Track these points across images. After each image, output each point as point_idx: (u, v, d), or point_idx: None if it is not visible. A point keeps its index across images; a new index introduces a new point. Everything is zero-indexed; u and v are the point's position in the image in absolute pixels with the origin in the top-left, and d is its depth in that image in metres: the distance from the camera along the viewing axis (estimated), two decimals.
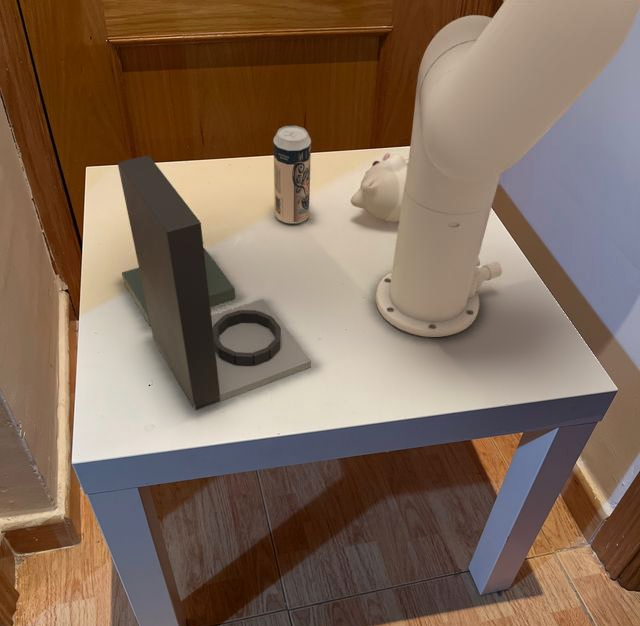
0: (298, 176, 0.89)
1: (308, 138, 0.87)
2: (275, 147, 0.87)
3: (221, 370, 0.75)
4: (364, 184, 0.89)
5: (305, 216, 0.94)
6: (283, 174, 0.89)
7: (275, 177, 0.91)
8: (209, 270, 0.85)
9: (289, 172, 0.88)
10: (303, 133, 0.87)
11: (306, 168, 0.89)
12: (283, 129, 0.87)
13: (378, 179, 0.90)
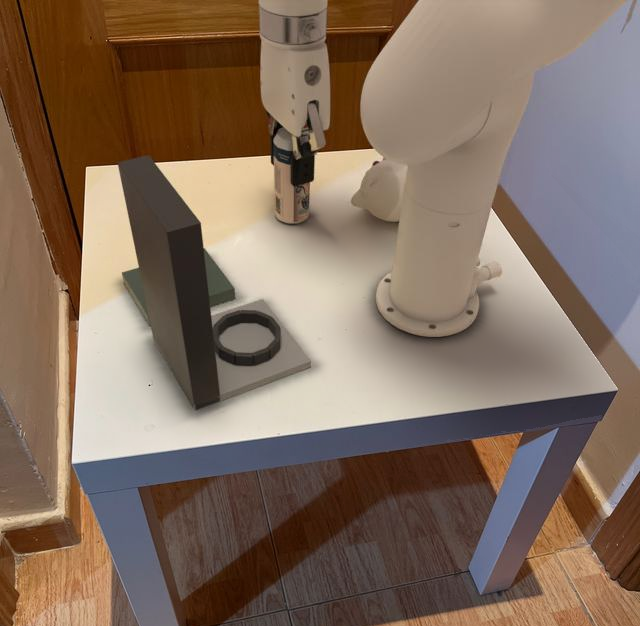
0: None
1: None
2: (275, 147, 0.87)
3: (221, 370, 0.75)
4: (364, 184, 0.89)
5: (305, 216, 0.94)
6: (283, 175, 0.89)
7: (275, 177, 0.91)
8: (209, 270, 0.85)
9: (289, 172, 0.88)
10: None
11: None
12: (283, 129, 0.87)
13: (378, 179, 0.90)
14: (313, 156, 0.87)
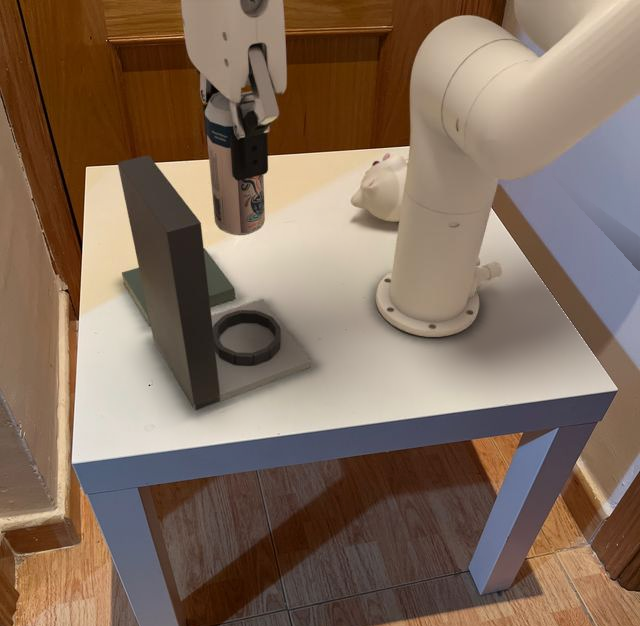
0: None
1: None
2: (207, 122, 0.58)
3: (221, 370, 0.75)
4: (364, 184, 0.89)
5: (258, 224, 0.65)
6: (221, 163, 0.60)
7: (210, 167, 0.61)
8: (209, 270, 0.85)
9: (230, 160, 0.59)
10: None
11: None
12: (220, 95, 0.58)
13: (378, 179, 0.90)
14: (265, 135, 0.58)
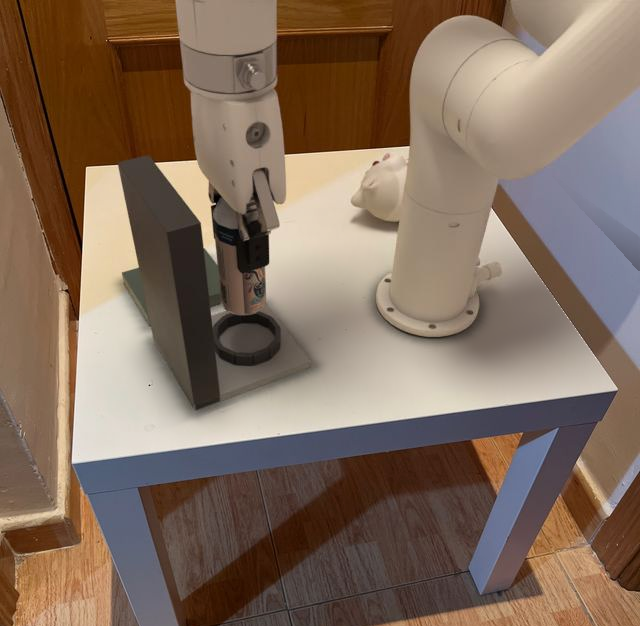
0: None
1: None
2: (215, 223, 0.65)
3: (221, 370, 0.75)
4: (364, 184, 0.89)
5: (260, 306, 0.72)
6: (227, 257, 0.67)
7: (217, 258, 0.68)
8: (209, 270, 0.85)
9: (235, 255, 0.66)
10: None
11: None
12: None
13: (378, 179, 0.90)
14: (267, 235, 0.65)
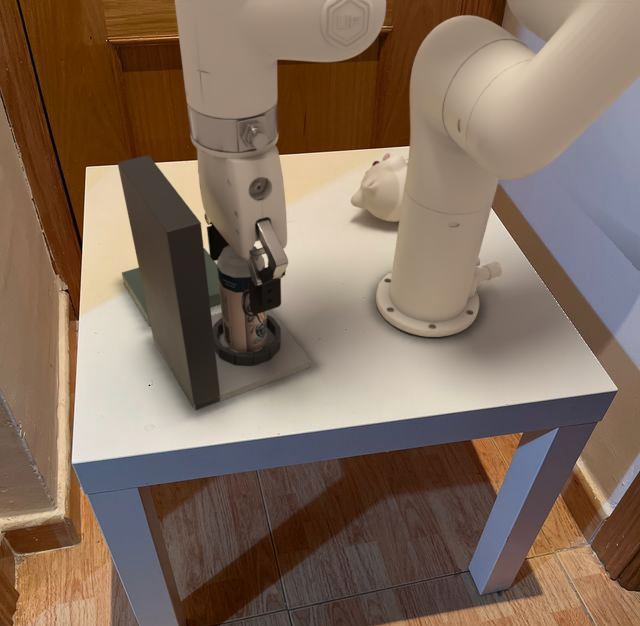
0: (249, 304, 0.71)
1: (260, 260, 0.69)
2: (219, 271, 0.69)
3: (221, 370, 0.75)
4: (364, 184, 0.89)
5: (261, 344, 0.76)
6: (230, 302, 0.71)
7: (221, 302, 0.73)
8: (209, 270, 0.85)
9: (238, 301, 0.70)
10: None
11: None
12: (229, 248, 0.69)
13: (378, 179, 0.90)
14: (279, 278, 0.66)
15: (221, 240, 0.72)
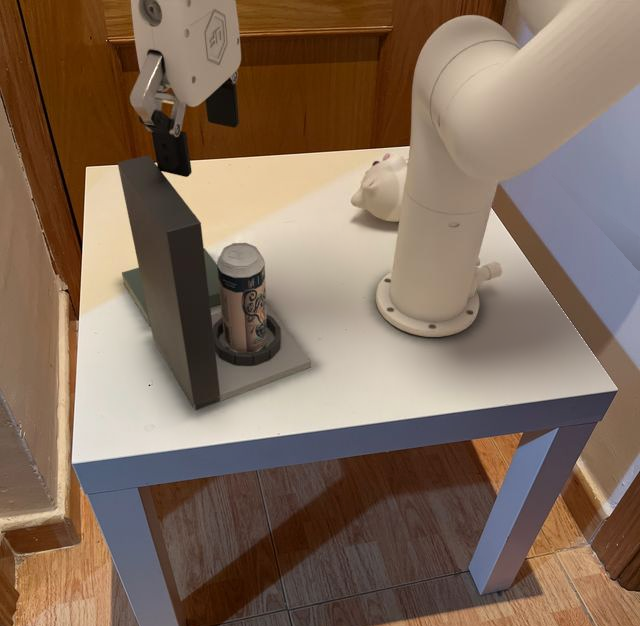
0: (249, 304, 0.71)
1: (260, 260, 0.69)
2: (219, 271, 0.69)
3: (221, 370, 0.75)
4: (364, 184, 0.89)
5: (261, 344, 0.76)
6: (230, 302, 0.71)
7: (221, 302, 0.73)
8: (209, 270, 0.85)
9: (238, 301, 0.70)
10: (254, 254, 0.69)
11: (259, 294, 0.71)
12: (229, 248, 0.69)
13: (378, 179, 0.90)
14: (182, 140, 0.59)
15: (215, 101, 0.66)
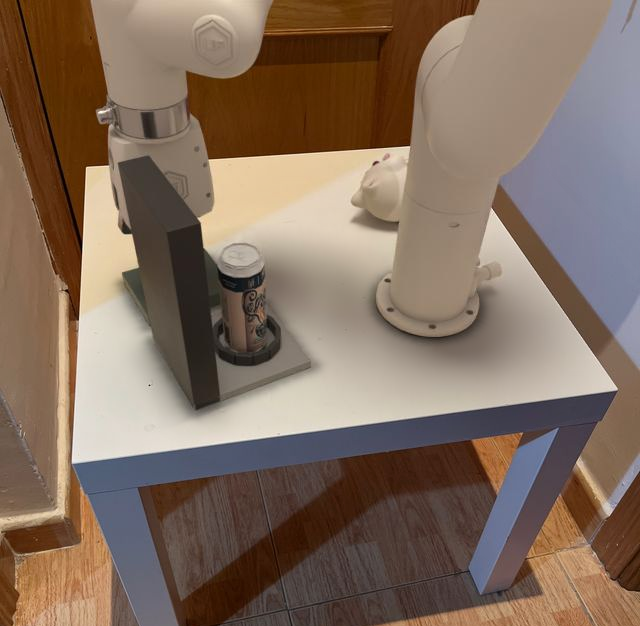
0: (249, 304, 0.71)
1: (260, 260, 0.69)
2: (219, 271, 0.69)
3: (221, 370, 0.75)
4: (364, 184, 0.89)
5: (261, 344, 0.76)
6: (230, 302, 0.71)
7: (221, 302, 0.73)
8: (209, 270, 0.85)
9: (238, 301, 0.70)
10: (254, 254, 0.69)
11: (259, 294, 0.71)
12: (229, 248, 0.69)
13: (378, 179, 0.90)
14: None
15: None
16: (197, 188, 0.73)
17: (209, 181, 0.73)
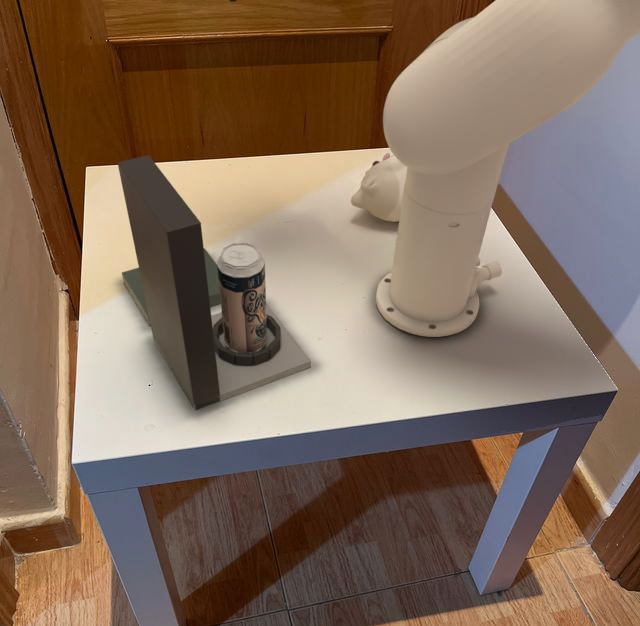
0: (249, 304, 0.71)
1: (260, 260, 0.69)
2: (219, 271, 0.69)
3: (221, 370, 0.75)
4: (364, 184, 0.89)
5: (261, 344, 0.76)
6: (230, 302, 0.71)
7: (221, 302, 0.73)
8: (209, 270, 0.85)
9: (238, 301, 0.70)
10: (254, 254, 0.69)
11: (259, 294, 0.71)
12: (229, 248, 0.69)
13: (378, 179, 0.90)
14: None
15: None
16: None
17: None
